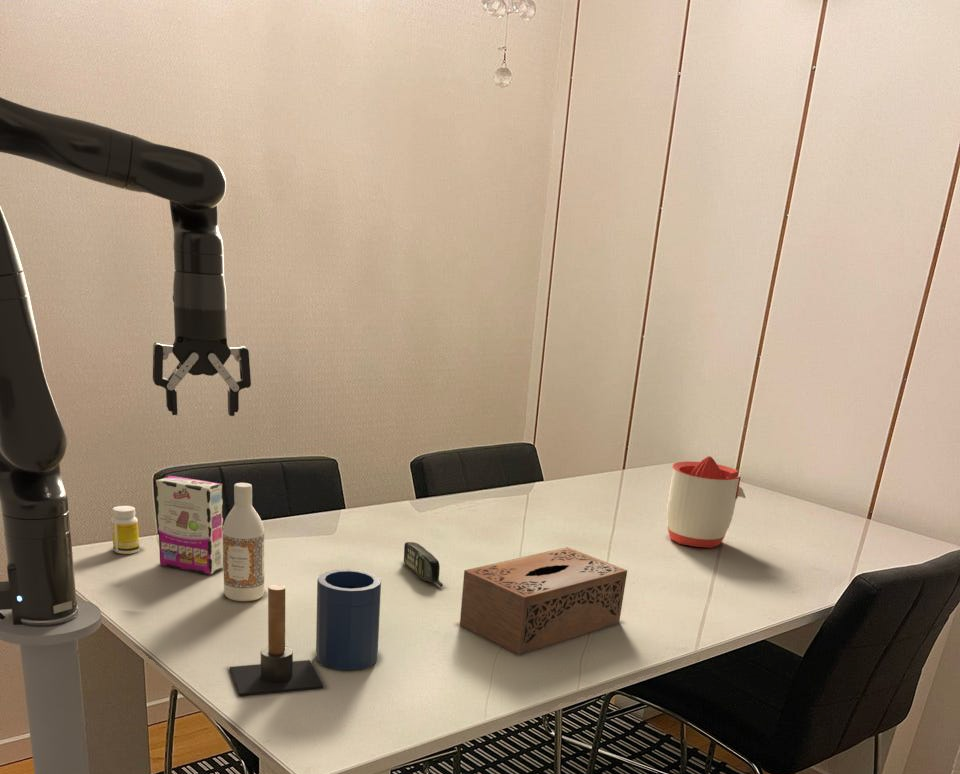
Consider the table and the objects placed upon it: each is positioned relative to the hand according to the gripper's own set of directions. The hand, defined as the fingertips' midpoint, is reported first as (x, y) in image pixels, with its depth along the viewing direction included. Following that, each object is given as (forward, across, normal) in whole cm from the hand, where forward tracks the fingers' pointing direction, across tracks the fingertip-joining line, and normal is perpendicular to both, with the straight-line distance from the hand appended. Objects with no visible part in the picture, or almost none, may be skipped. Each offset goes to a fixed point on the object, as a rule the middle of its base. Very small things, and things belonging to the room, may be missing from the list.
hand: (203, 414), depth 150 cm
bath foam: (+33, +7, +7) cm, 35 cm away
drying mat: (+33, +6, -27) cm, 43 cm away
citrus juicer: (+33, +114, +24) cm, 121 cm away
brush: (+33, +6, -27) cm, 43 cm away
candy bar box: (+33, 0, +23) cm, 40 cm away
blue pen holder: (+33, +18, -22) cm, 44 cm away
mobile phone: (+33, +42, +12) cm, 55 cm away
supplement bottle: (+33, -11, +34) cm, 49 cm away
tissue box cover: (+33, +55, -15) cm, 66 cm away
